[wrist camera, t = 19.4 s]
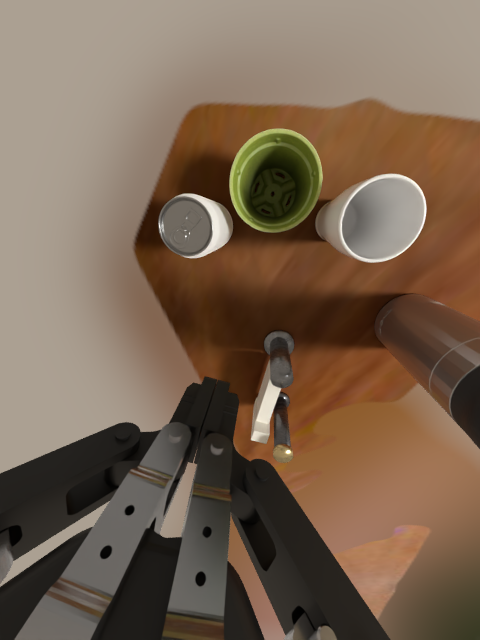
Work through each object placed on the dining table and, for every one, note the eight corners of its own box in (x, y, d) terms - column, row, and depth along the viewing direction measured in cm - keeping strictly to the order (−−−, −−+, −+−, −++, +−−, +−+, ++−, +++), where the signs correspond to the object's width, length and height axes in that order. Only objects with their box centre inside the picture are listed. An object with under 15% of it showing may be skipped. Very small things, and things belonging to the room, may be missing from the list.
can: (181, 229, 36) (142, 232, 25) (207, 190, 33) (176, 175, 22) (215, 258, 37) (193, 273, 26) (242, 222, 34) (230, 222, 23)
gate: (268, 357, 40) (268, 385, 33) (282, 361, 40) (285, 390, 33) (253, 405, 44) (250, 439, 37) (266, 408, 44) (266, 443, 37)
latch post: (291, 394, 45) (298, 449, 34) (286, 409, 46) (292, 466, 35) (272, 390, 45) (273, 444, 34) (268, 405, 46) (267, 461, 35)
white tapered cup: (311, 251, 35) (339, 270, 21) (306, 200, 32) (334, 184, 19) (361, 241, 34) (425, 255, 20) (359, 188, 31) (431, 161, 17)
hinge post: (297, 333, 40) (305, 366, 31) (289, 358, 42) (295, 397, 33) (267, 327, 40) (267, 358, 31) (261, 352, 42) (259, 389, 33)
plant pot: (252, 140, 31) (247, 112, 23) (321, 167, 31) (339, 148, 23) (229, 216, 34) (217, 214, 26) (291, 239, 35) (298, 245, 27)
